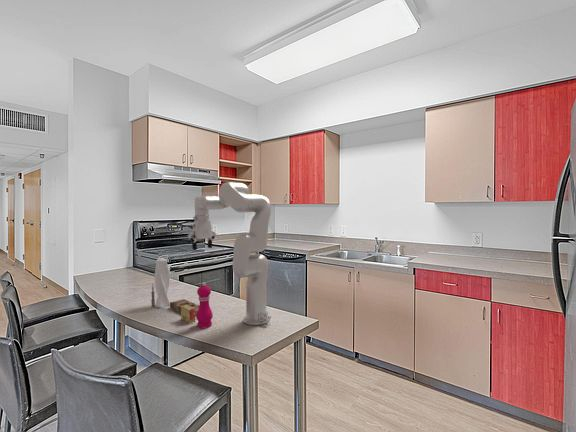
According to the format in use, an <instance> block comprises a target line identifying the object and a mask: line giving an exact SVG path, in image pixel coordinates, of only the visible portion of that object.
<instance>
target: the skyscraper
mask: <svg viewBox="0 0 576 432" xmlns="http://www.w3.org/2000/svg"><path fill="white" fill-rule="evenodd" d="M164 256H166V258H165V257H164ZM161 257H162V258H161ZM168 259H169V254H162V255H159V257H158V258H157V260H155V271H154V284H153V283H152V284H151V286H152V287H151V300H150V302H151V306H150V307H151V308H154V309H158V310H159V309H163V308H166V307H170V300H169V297H168V292H169V288H170V279H171V278H170V270H169V266H168ZM154 286H155V291H154ZM155 292H156V295H157V298H156V300H155Z"/></svg>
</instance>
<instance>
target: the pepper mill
mask: <svg viewBox="0 0 576 432" xmlns="http://www.w3.org/2000/svg"><path fill="white" fill-rule="evenodd" d="M196 293H197V295H198V301H199V304H198V305H199V309H198V312H197V315H196V317H195V320H197V328H199V329H208V328H211V326H212V325H213V323H212V322H213V321H212V319H213V311H212V309H211V307H210V299H211V298H210V297H211V296H210V295H211V293H212V289H211V287H210V286H208V285H207V283H206V282H202V283H201V285H200V286H199V287H198V288H197V291H196Z"/></svg>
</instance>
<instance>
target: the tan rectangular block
mask: <svg viewBox="0 0 576 432" xmlns="http://www.w3.org/2000/svg"><path fill="white" fill-rule="evenodd" d="M180 320H181V321H183V320H184V321H186V320H187V324H188V325H191V324H194V323H196V317H195V308H193V307H191V306H189V305H183V306H181V313H180ZM193 322H194V323H193ZM190 323H191V324H190Z"/></svg>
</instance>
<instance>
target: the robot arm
mask: <svg viewBox="0 0 576 432" xmlns="http://www.w3.org/2000/svg"><path fill="white" fill-rule="evenodd" d="M229 207H230V208H231V209H232V210H234V211H235V212H237V213H240V214H241V213H243V214H244V213H254V215H253V216H252V217H251V220H250V225H249V231H248V232H244V233H243V232H242V233H240V234H238V235H237V236H236V238H235V240H234V243H233V255H232V272H233V274H234V276H235V277H237V278H240V279H244V278H247V279H246V283H245V298H246V299H245V300H246V303H245V306H246V307H245V308H246V312H245V313H246V315H245V316H243V318H242V321H243V323H244V324H246V325H250V326H259V325H265V324H267V323H269V322H270V321H271V319H272V316H271V315H269V312H268V311H267V274H268V270H269V262H268V259H267V257H266V256H265V255H263V254H262V253H260V252H263V251H265V250H266V248H267V244H268V235H269V222H270V220H271V219H270V217H271V214H272V206H271V202H270V200H269V198H267V196H264V195H262V194H257V193H256V194H253V193H250V189H249V187H248V186H247V185H246V184H245V183H243V182H235V181H234V182H232V181H228V182H224V183H222V184H221V186H220V187H219V192H218V195H202V196H196V197H195V198H194V216H193V217H192V219H193V220H194V221H193V225H192V232H190V233H189V234H187V238H188V240H189V241H190V242H191V247H192V250H193V251H196V250H197V249H198V248H197V247H198V246H197V245H198V244H197V241H198V240H203V239H207V248H209V249H212V248H213V241H214V239H215V237H216V235H217V233H216V232H215V231H213V228H212V223H211V220H210V218H209V217H210V216H209V215H210V214H209V213H210V212H209V211H210V210H223V209H226V208H229Z"/></svg>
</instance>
